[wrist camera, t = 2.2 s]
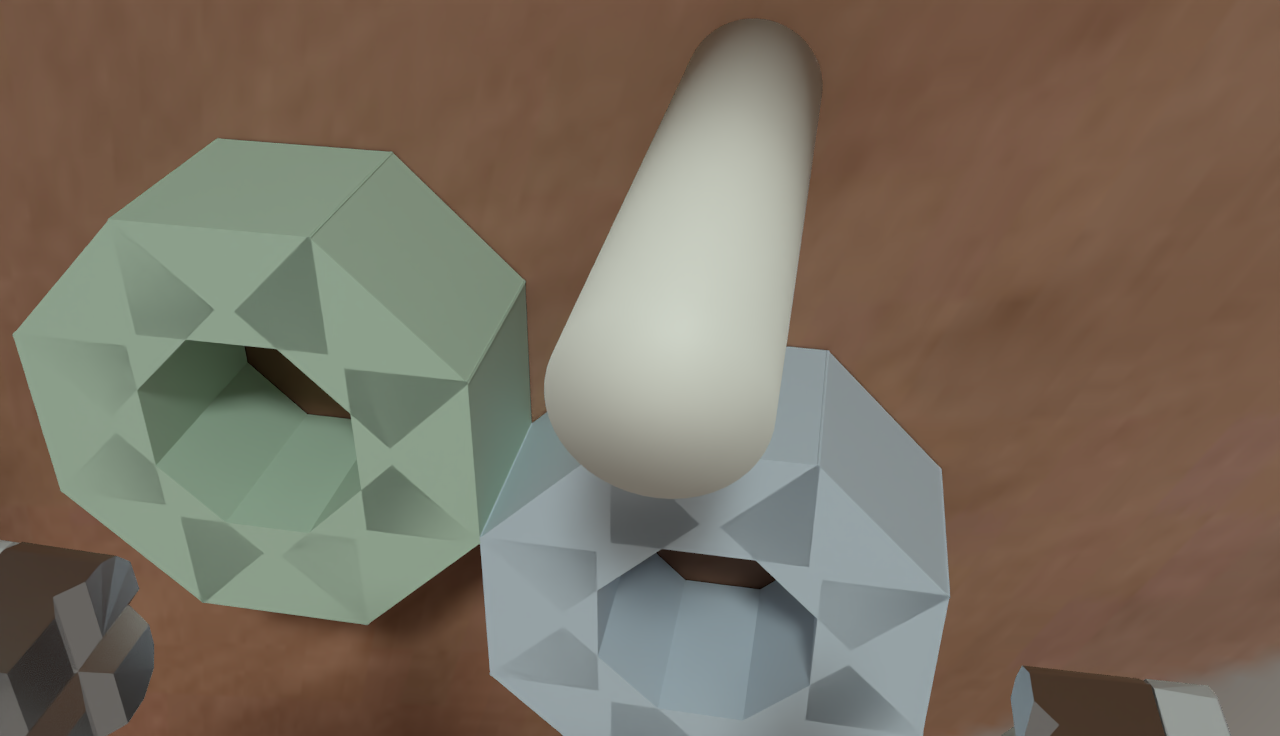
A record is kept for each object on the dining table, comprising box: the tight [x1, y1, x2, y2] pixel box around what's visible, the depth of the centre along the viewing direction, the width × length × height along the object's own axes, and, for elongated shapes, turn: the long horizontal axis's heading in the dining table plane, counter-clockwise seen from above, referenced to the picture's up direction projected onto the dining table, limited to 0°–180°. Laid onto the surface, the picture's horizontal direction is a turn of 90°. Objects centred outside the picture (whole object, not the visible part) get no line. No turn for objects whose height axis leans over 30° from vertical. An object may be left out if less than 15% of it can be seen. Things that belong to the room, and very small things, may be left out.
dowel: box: [544, 19, 823, 499], centre depth 19 cm, size 3×3×12 cm
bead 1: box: [12, 138, 532, 625], centre depth 27 cm, size 10×10×4 cm
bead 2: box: [479, 347, 950, 736], centre depth 28 cm, size 10×10×4 cm
